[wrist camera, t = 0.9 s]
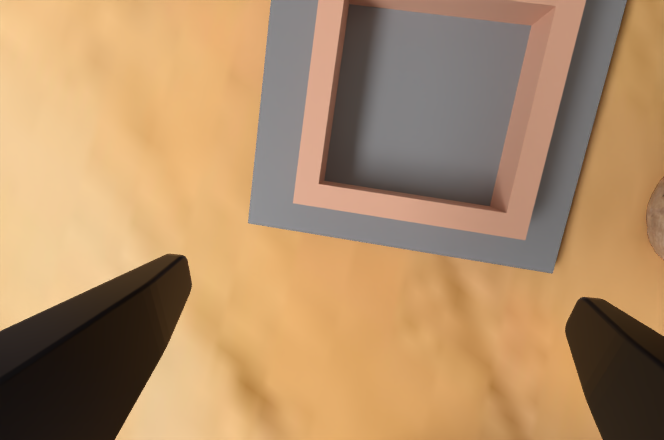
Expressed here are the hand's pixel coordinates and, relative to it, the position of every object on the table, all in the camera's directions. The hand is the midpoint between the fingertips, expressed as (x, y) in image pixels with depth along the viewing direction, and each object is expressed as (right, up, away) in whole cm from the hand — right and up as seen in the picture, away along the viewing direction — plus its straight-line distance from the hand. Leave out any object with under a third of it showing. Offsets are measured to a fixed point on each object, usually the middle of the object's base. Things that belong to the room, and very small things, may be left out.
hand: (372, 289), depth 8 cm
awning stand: (+4, +8, +12) cm, 15 cm away
